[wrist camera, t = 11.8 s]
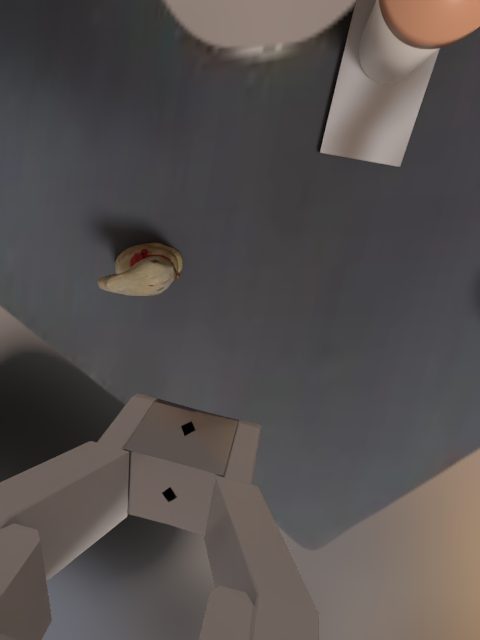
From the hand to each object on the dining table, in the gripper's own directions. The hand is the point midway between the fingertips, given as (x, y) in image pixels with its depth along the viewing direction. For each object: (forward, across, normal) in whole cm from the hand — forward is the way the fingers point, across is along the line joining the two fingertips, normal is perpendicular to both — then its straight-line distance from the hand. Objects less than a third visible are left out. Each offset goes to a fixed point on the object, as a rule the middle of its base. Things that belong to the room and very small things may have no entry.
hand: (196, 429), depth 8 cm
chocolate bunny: (+29, +13, +6) cm, 33 cm away
